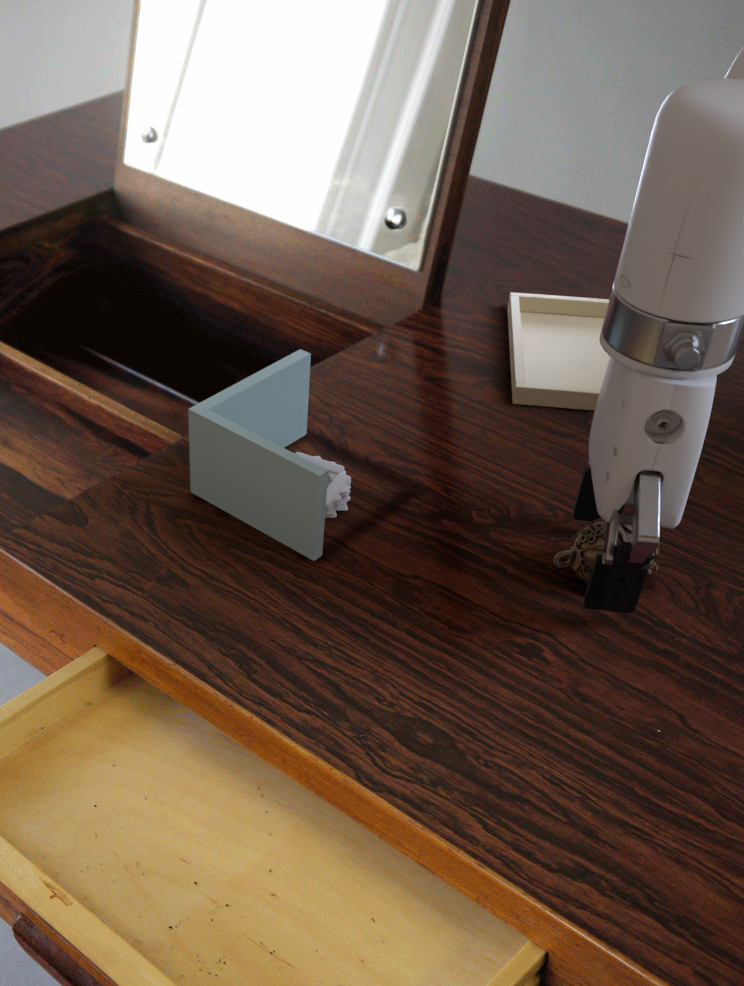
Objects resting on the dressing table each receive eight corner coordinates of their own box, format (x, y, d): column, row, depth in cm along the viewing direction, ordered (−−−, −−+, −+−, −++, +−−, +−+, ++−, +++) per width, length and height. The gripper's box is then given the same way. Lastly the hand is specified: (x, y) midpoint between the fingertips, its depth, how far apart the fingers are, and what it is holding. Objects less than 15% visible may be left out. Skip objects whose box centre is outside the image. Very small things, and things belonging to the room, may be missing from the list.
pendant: (667, 597, 77) (688, 537, 73) (563, 614, 75) (580, 554, 72) (631, 552, 80) (649, 493, 77) (531, 568, 79) (545, 509, 75)
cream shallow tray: (506, 312, 107) (510, 291, 105) (643, 323, 106) (648, 301, 104) (511, 409, 94) (515, 386, 93) (667, 422, 93) (673, 399, 92)
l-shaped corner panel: (313, 567, 79) (319, 475, 73) (190, 497, 84) (188, 408, 79) (417, 494, 85) (429, 406, 80) (296, 435, 91) (300, 348, 86)
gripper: (769, 407, 58) (675, 654, 70) (716, 265, 71) (643, 494, 82) (620, 394, 59) (551, 640, 70) (593, 256, 71) (539, 484, 83)
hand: (601, 561), depth 76 cm, fingers open, 9 cm apart
